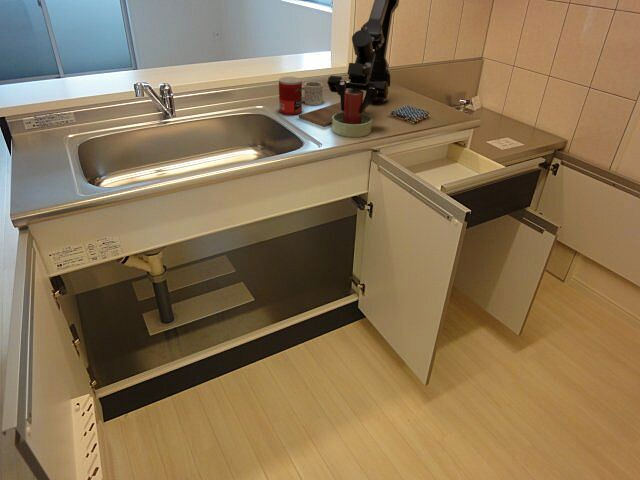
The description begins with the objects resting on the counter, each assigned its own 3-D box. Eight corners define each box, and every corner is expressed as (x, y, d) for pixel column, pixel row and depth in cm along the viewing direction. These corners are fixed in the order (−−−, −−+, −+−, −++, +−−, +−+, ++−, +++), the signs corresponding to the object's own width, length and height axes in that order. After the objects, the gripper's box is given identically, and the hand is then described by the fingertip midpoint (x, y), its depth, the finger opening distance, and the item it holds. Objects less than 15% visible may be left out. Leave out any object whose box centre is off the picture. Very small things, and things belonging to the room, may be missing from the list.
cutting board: (339, 106, 162) (340, 102, 161) (365, 114, 155) (365, 110, 154) (298, 119, 149) (298, 115, 148) (323, 129, 142) (324, 124, 141)
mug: (321, 99, 167) (322, 81, 164) (322, 105, 162) (323, 87, 158) (295, 99, 167) (295, 81, 163) (295, 105, 161) (295, 86, 158)
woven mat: (388, 116, 153) (388, 110, 152) (405, 110, 160) (406, 104, 159) (412, 124, 148) (413, 118, 146) (430, 117, 154) (431, 111, 153)
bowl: (349, 121, 148) (350, 108, 146) (378, 131, 141) (380, 118, 139) (323, 130, 141) (324, 117, 138) (353, 142, 134) (354, 128, 131)
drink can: (350, 125, 144) (352, 87, 137) (364, 129, 141) (367, 92, 134) (338, 129, 141) (340, 91, 134) (352, 134, 137) (354, 95, 131)
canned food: (299, 116, 152) (298, 83, 146) (276, 113, 153) (275, 81, 147) (304, 108, 158) (304, 77, 152) (282, 107, 159) (281, 75, 153)
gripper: (330, 47, 133) (317, 94, 131) (390, 54, 128) (378, 102, 126) (336, 68, 144) (325, 112, 141) (392, 75, 139) (381, 120, 137)
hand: (351, 111), depth 136 cm, fingers closed on drink can, 6 cm apart
